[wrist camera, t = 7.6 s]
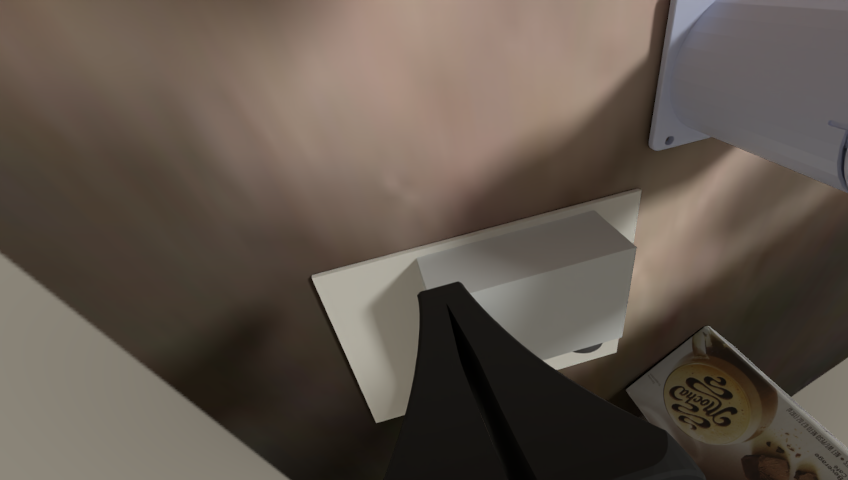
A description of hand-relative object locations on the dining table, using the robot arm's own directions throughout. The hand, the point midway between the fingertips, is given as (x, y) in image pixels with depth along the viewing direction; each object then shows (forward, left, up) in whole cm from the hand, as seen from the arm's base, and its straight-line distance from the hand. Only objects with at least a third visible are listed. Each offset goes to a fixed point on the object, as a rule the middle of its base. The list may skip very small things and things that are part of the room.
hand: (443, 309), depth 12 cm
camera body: (-6, +9, -10) cm, 14 cm away
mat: (-4, +12, -10) cm, 16 cm away
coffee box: (-21, +25, -10) cm, 34 cm away
